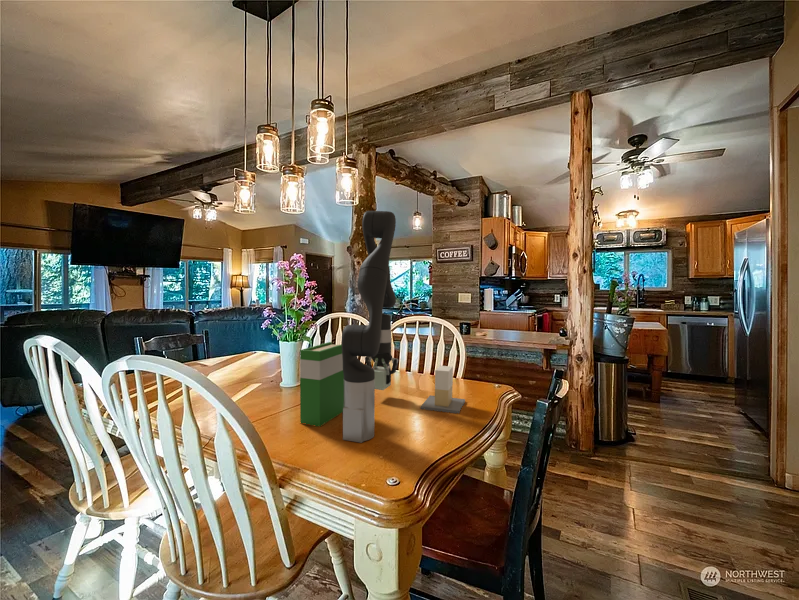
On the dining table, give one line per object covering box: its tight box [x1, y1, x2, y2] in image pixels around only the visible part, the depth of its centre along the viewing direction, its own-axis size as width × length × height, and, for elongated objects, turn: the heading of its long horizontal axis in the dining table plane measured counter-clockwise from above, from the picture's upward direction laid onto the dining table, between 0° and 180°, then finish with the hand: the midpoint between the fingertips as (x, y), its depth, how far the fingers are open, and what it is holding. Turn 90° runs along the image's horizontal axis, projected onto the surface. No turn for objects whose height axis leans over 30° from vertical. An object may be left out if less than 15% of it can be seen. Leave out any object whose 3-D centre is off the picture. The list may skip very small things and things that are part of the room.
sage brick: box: [374, 366, 392, 391], centre depth 146 cm, size 8×5×7 cm, turn 161°
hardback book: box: [299, 341, 344, 427], centre depth 126 cm, size 18×7×24 cm, turn 159°
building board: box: [420, 385, 466, 415], centre depth 138 cm, size 14×14×7 cm
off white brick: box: [434, 365, 454, 390], centre depth 138 cm, size 8×5×7 cm, turn 161°
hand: (381, 383), depth 146 cm, fingers closed on sage brick, 5 cm apart
